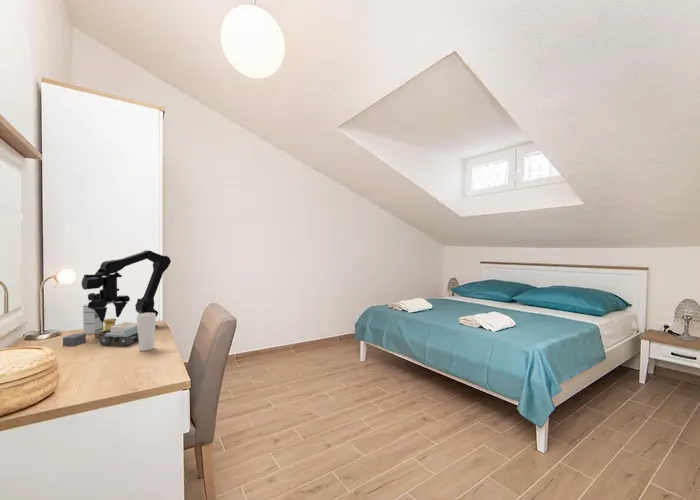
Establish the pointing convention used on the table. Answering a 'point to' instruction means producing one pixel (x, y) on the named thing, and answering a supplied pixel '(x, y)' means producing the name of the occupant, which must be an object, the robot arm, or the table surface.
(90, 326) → the syrup box
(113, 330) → the tray
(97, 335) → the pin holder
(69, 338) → the block
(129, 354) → the table surface
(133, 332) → the trolley
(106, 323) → the stop pin
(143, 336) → the drinking glass
